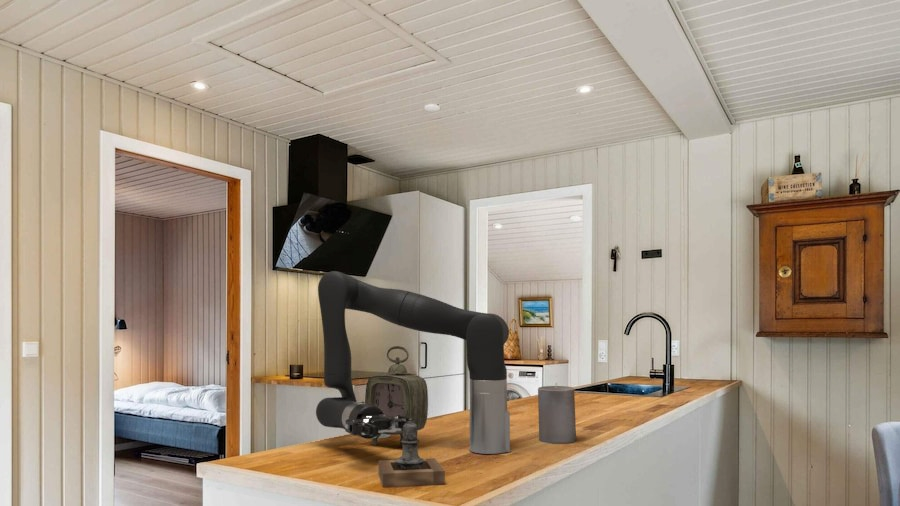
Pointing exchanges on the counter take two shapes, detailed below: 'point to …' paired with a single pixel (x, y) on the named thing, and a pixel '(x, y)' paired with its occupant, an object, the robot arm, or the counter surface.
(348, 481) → the counter surface
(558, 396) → the pillar candle
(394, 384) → the tabletop clock
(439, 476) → the socket block
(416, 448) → the chess piece
